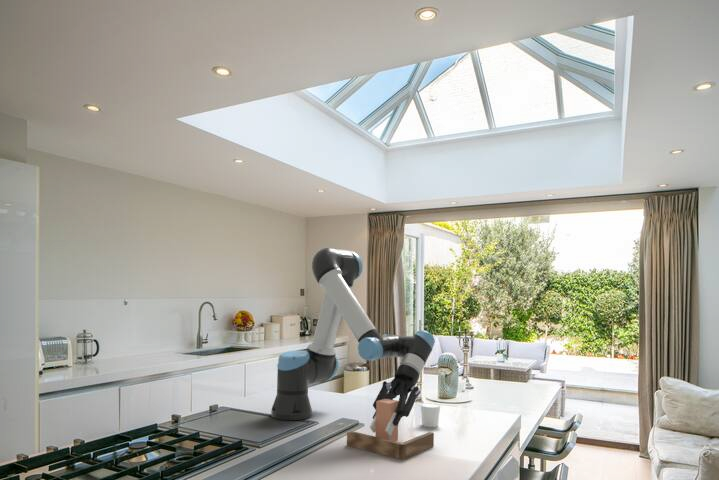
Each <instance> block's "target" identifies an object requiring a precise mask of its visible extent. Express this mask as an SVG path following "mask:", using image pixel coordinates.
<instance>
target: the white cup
mask: <svg viewBox="0 0 719 480" xmlns="http://www.w3.org/2000/svg"><path fill="white" fill-rule="evenodd" d="M440 408H441V406H440V404H436V403H422V404H420V411H421V425H422V426H423V427H426V428H437V427H439V421H440V420H439V419H440V410H441V409H440Z"/></svg>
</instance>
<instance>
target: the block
mask: <svg viewBox="0 0 719 480" xmlns="http://www.w3.org/2000/svg"><path fill="white" fill-rule="evenodd" d="M398 403H399V400H395V399H393V400H390V399H382V400H378V401H376V410H375V412H376V432H375V437H379V438H383V439H387V440H392V441H396V442H399V424H398V425H397V426H395V428H394V430H393V432H392V434H391V436H388V434H387V433H386V431H385V429H386V427H387V425H388V423H389V421H390V419H391V417H392V415H393V413H394V412H395V413H396V414H397V412H396V411H397V407H398Z"/></svg>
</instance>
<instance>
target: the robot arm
mask: <svg viewBox="0 0 719 480" xmlns="http://www.w3.org/2000/svg"><path fill="white" fill-rule="evenodd" d="M311 270H312V273H313V276H314V278H315V280H316V282H317V283H318V285H319V286H320V287H321V288H324V289H325V290H324V294H323V298H322V301H321V306H320V311H319V315H318V318H317V323H316V326H315V332H314V334H313V340H312V342H311V343H309V344H308V345H307V348H306V350H298V349H297V350H291V351H289V350H288V351H286V352H282V353H281V354H279V357H278V361H277V377H276V379H277V383H276V385H277V386H276V395H275V399H274V401H273V404H272V407H271V411H270V417H271V418H273V419H277V420H282V421H302V420H308V419H309V418H312V416H313V408H312V404H311V401H310V398H309V385H312V384H319V383H325V382H327V381H331V380H332V379H333V378H334V377H335V376H336V374H337V373H338V370H339V361H338V356H336V355H337V351H336V349H335V347H334V346H335V342H336V338H337V335H338V330H339V327H340V324H341V323H340V322H341V319H342V318H343V320H344V321H345V323H346V324H347V326H348V327H349V329H350V331H351V333H352V334H353V336H354V337H355V339H356V340H357V342H358V344H357V351H358V355H359V356H360V358H361V359H363V360H365V361H378V360H382V359H390V358H402V360H401V362H399V366H398V368H397V370H396V372H395V373H394V378H393V379H392V380H391V381H390V382H387V381H385V380H384V381H383V382H382V386H381V388H380V390H379V392H378V394H377V396H376V398H375V400H374V402H373V404H372V407H373V408H374V410H375V411H374V413H373V416H372V419H373V420H372V421H371V423H370V425H369V428H370V430H371V432H372V433H374V434H376V401H378V400H382V399H390V400H395V398H396V399H397V397H398V396H399V398H398V401H399V403H398V407H397V411H396V412H397V414H396V413H395V412H394V413H393V415H392V417H391V419H390V421H389V423H388V425H387V427H386V429H385V431H386V433H387V434H388V436H391V434H392V432H393V430H394V428H395V426H397V425H398V426H399V423H400V421H401V419H402V418H403V417H405V418H408V417H409V416H410V413H411V412H412V409H413V408H414V407H413V406H414V405H415V402H416V400H417V397H419V395H420V394H421V390H420V389H419V387H418V386H417V383H418V380H419V379H420V375H421V374H422V372H423V370H424V368H425V366H426V363H427V360H428V359H429V357H430V355H431V353H432V352H433V348H434V346H435V343H436V339H435V337H434V335H432V333H431V332H429V331H427V330H423V329H419V330H417V331H416V332H415V333H414V335H413V336H411V335H408V336H406V335H399V334H393V333H391V334H390V333H389V334H382V335H381V334H380V333H379V331H378V329H377V328H376V327H375V325H374V324H373V321H371V319H370V317H369V316H368V314H367V313H366V311H365V310H364V309H363V307H362V306H361V304H360V302H359V300H358V299H357V297H356V296H355V294H354V293H353V292H352V290H351V288H352V287H353V286H354V281H355V280H357V279H358V278H359V277H361V274H362V272H363V260H362V259H361V257H360V256H359V254H358V253H357V252H355V251H353V250H349V249H343V248H342V249H341V248H334V247H325V248H321V249H320V250H318V251H317V252H316V253H315V255H313V258H312V262H311Z"/></svg>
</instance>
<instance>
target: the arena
mask: <svg viewBox="0 0 719 480" xmlns="http://www.w3.org/2000/svg"><path fill="white" fill-rule="evenodd" d="M434 434H435V433H434V432H433V431H428V432H425V433H423V434H421V435H417V436H416V437H413V438H411V439H408V440H406V441H403V442H399V441H392V440H387V439H383V438H379V437H376V435H372V434H371V435H370V434H366V433H361V432H357V431H353V430H348V431H346V446H349V447H354V448H357V449H361V450H363V451H368V452H372V453H376V454H380V455H384V456H388V457H391V458H395V459H398V460H399V459H400V460H402V461H403V460H406V459H408V458H411V457H412V456H415V455H417V454H419V453H421V452H423V451H426V450H428V449H430V448H432V447H434V445H435V443H434V442H435V438H434V437H435V435H434Z"/></svg>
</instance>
